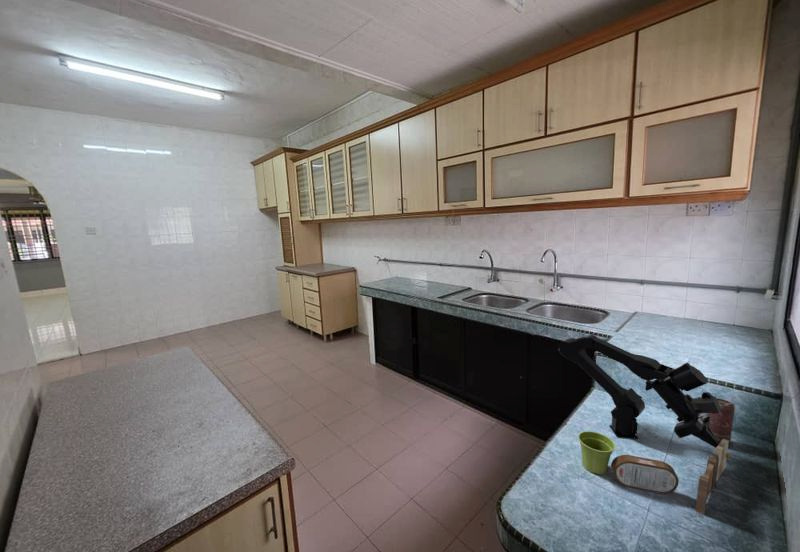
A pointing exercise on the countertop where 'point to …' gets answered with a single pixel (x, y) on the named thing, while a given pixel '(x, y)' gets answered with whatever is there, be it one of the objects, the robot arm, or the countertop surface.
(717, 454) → the panel
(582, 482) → the countertop surface
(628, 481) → the tin
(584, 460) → the plant pot
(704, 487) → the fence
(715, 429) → the can
